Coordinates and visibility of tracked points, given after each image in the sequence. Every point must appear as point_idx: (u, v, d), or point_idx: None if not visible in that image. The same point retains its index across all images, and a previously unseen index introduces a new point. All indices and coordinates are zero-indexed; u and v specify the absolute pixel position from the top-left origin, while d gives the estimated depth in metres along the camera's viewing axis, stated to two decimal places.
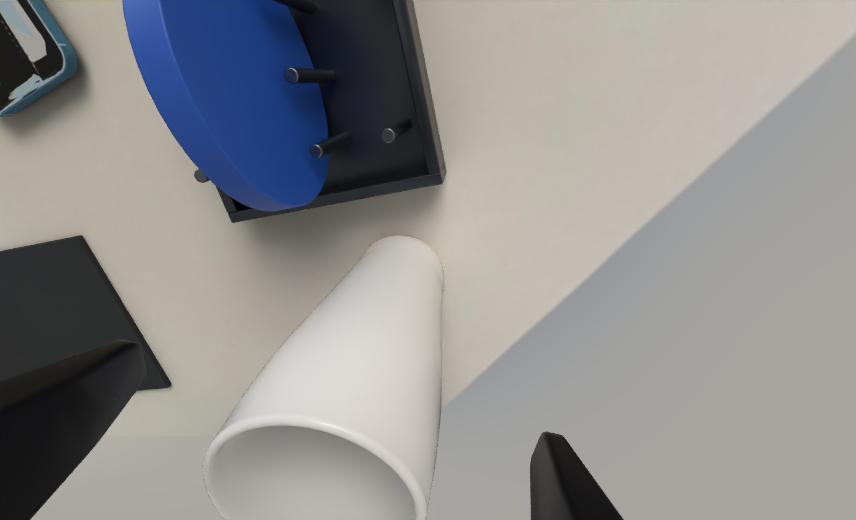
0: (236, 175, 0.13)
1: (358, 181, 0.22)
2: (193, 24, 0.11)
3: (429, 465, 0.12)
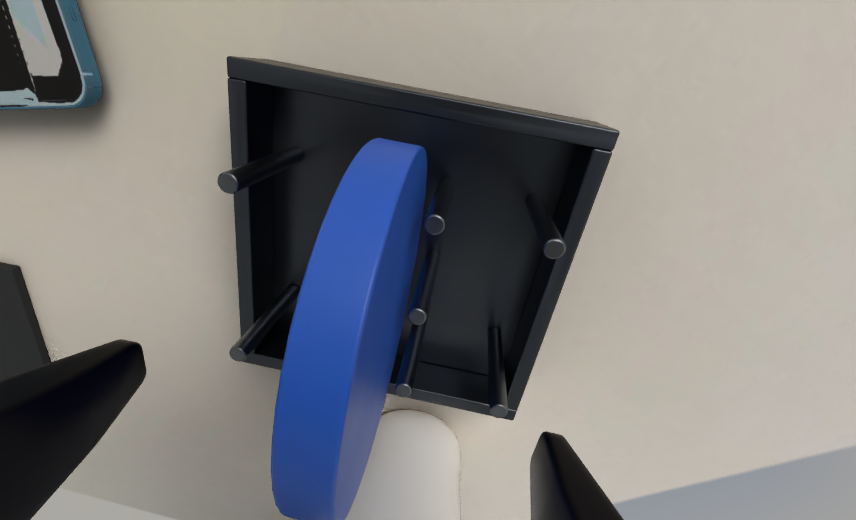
0: None
1: None
2: (365, 364, 0.07)
3: None
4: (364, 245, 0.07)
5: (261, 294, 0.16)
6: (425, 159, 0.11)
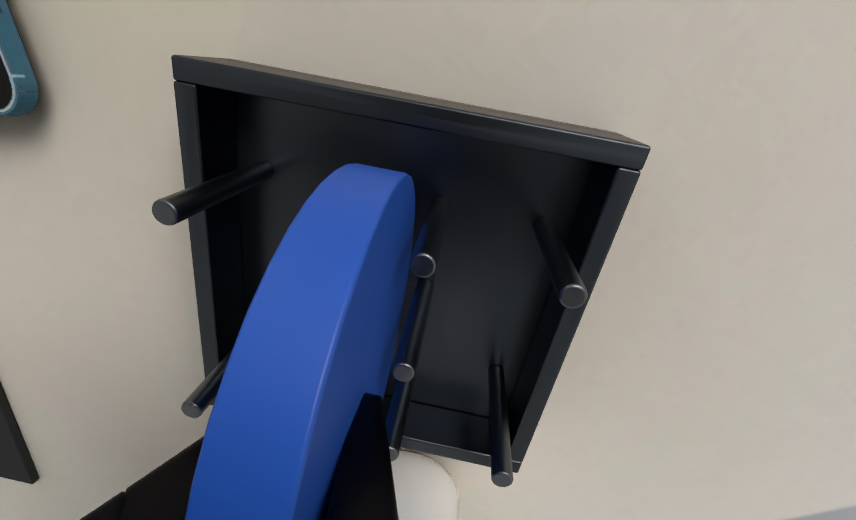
0: None
1: None
2: (317, 494, 0.05)
3: None
4: (308, 343, 0.05)
5: (228, 329, 0.14)
6: (411, 185, 0.09)
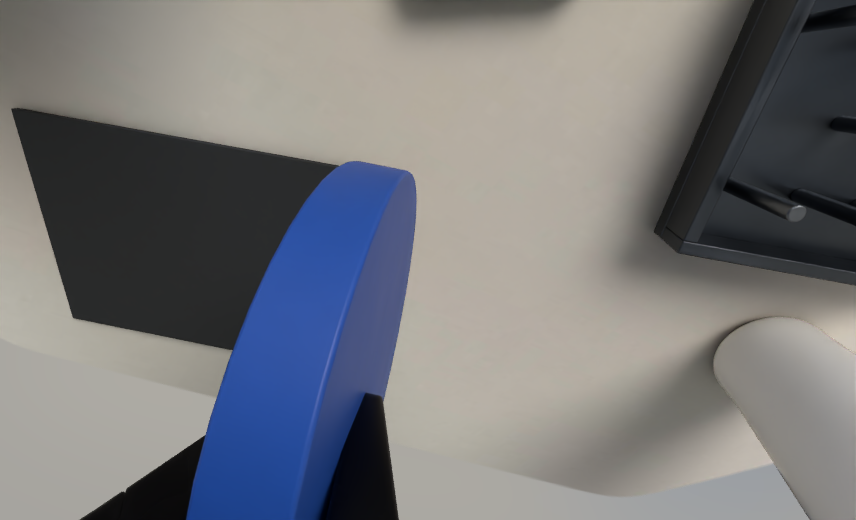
0: None
1: (825, 255, 0.18)
2: (319, 492, 0.05)
3: None
4: (309, 341, 0.05)
5: None
6: (412, 183, 0.09)
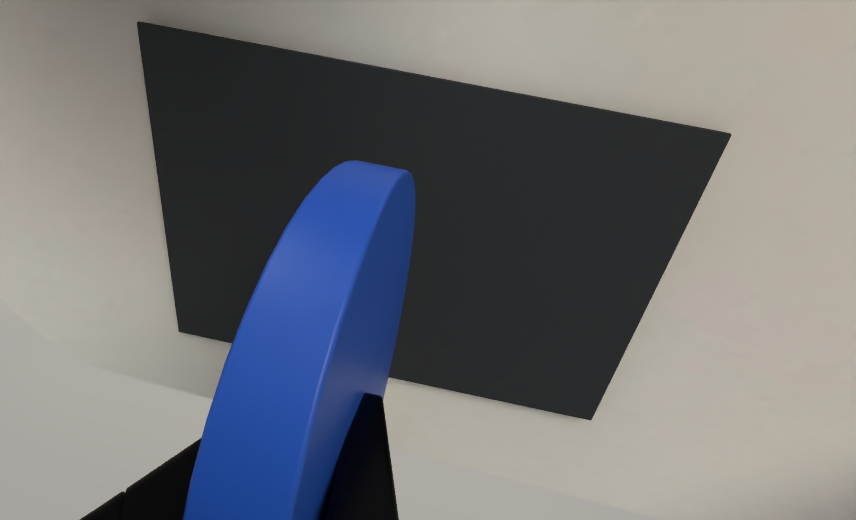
0: None
1: None
2: (317, 492, 0.05)
3: None
4: (307, 340, 0.05)
5: None
6: (411, 182, 0.09)
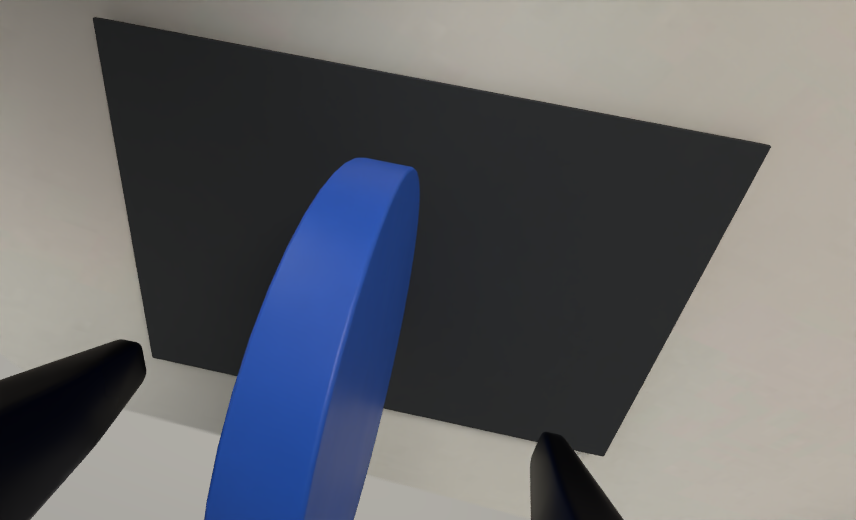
0: None
1: None
2: (331, 465, 0.06)
3: None
4: (325, 318, 0.05)
5: None
6: (416, 180, 0.09)
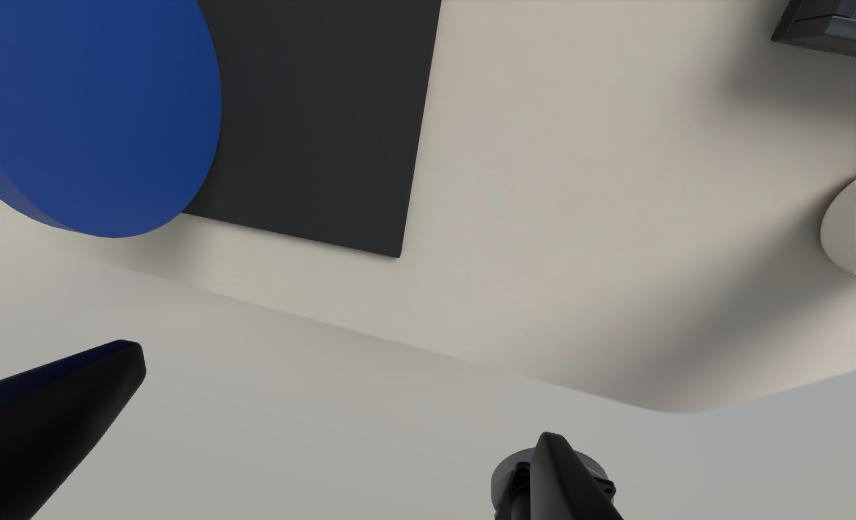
0: (37, 209, 0.11)
1: None
2: (20, 42, 0.10)
3: None
4: None
5: None
6: None
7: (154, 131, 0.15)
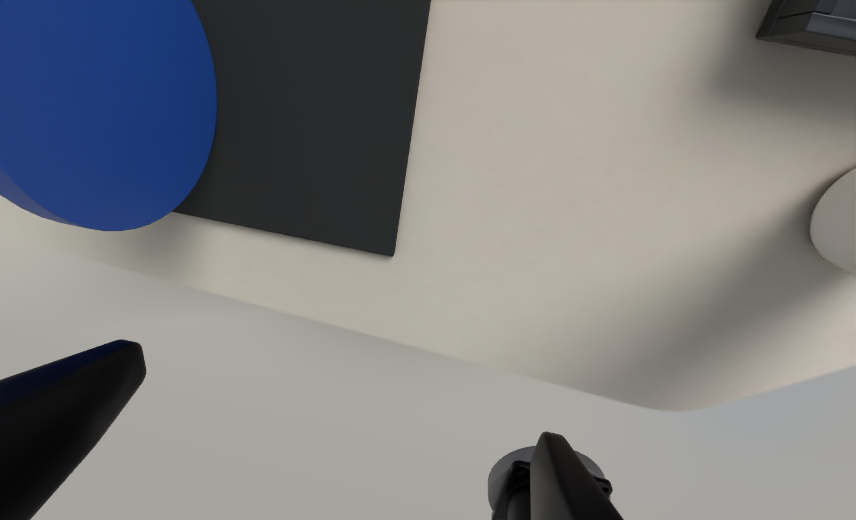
0: (26, 197, 0.11)
1: None
2: (15, 31, 0.10)
3: None
4: None
5: None
6: None
7: (148, 127, 0.15)
